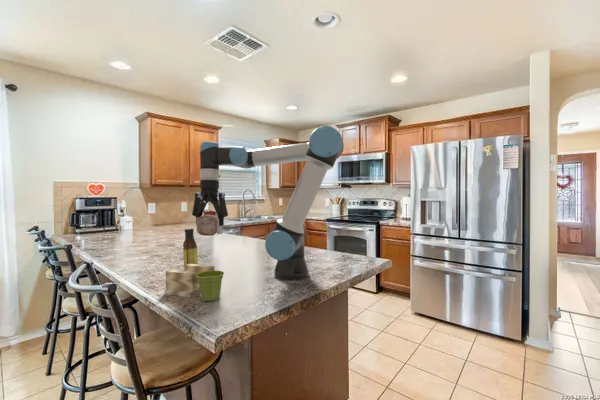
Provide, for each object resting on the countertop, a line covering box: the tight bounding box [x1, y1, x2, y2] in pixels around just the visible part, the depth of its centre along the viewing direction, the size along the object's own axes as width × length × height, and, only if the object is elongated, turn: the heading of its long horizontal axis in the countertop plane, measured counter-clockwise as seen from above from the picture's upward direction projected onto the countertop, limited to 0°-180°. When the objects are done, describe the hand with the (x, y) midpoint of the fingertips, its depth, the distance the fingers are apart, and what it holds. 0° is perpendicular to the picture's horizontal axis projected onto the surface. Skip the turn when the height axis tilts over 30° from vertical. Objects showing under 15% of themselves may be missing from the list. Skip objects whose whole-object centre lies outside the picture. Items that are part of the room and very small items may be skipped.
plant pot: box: [196, 269, 225, 302], centre depth 100 cm, size 9×9×9 cm
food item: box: [196, 210, 218, 237], centre depth 122 cm, size 14×8×10 cm, turn 5°
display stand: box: [163, 264, 215, 298], centre depth 110 cm, size 12×14×8 cm
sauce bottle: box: [182, 227, 199, 268], centre depth 140 cm, size 7×6×20 cm
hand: (209, 233), depth 122 cm, fingers closed on food item, 9 cm apart
